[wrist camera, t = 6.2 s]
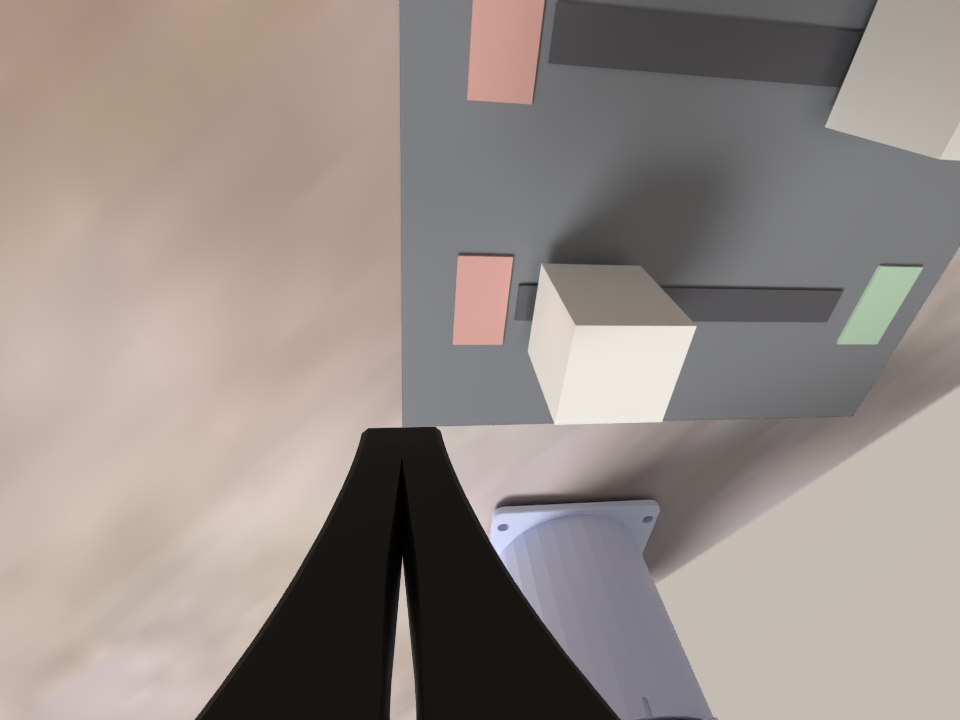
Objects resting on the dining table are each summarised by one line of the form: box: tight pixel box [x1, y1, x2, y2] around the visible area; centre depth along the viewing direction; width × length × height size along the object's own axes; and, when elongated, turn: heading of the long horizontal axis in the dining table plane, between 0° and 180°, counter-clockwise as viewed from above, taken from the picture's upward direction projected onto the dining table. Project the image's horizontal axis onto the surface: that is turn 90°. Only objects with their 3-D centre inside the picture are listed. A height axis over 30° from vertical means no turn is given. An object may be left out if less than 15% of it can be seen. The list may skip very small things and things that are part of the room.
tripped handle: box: [528, 263, 697, 425], centre depth 14 cm, size 3×3×4 cm
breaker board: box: [400, 0, 960, 427], centre depth 16 cm, size 16×18×2 cm
